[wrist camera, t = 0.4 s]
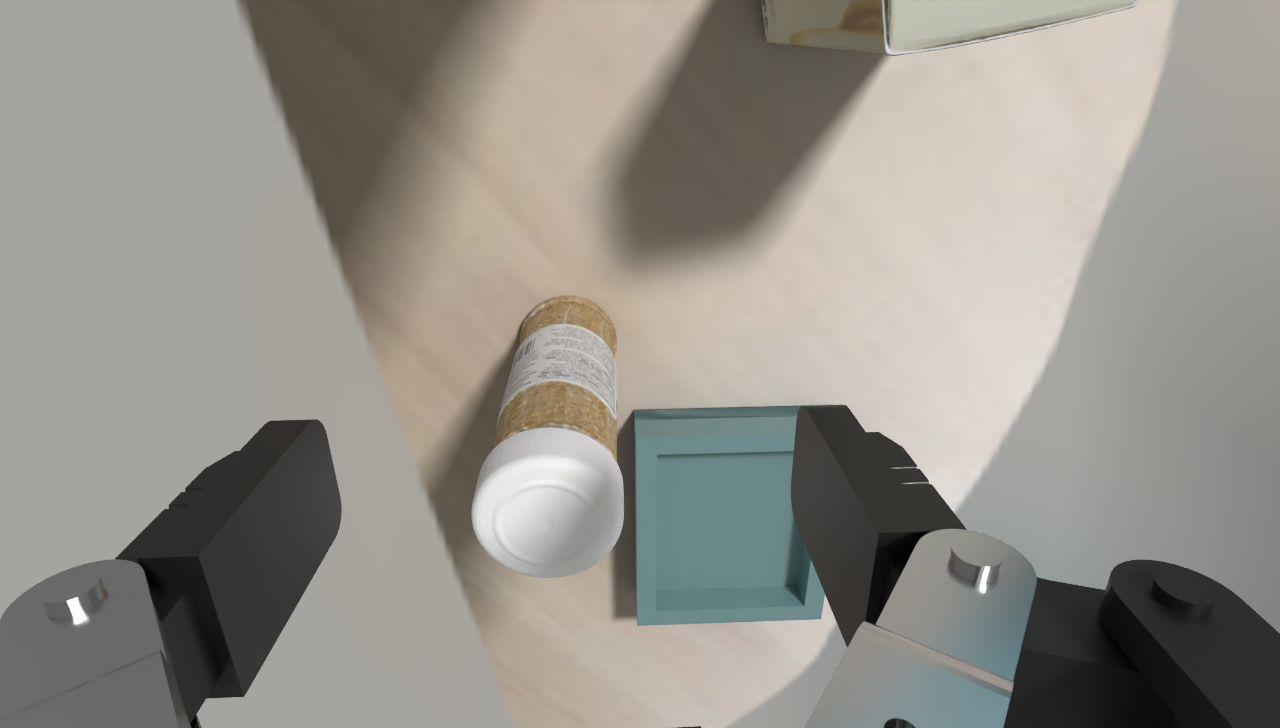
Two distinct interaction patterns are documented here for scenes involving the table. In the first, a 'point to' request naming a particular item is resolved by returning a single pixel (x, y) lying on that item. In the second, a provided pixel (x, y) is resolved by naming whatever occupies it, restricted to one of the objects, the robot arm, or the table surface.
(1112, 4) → the skincare box
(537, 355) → the sprinkles bottle
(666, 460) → the tray
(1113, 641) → the robot arm
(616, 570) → the table surface
